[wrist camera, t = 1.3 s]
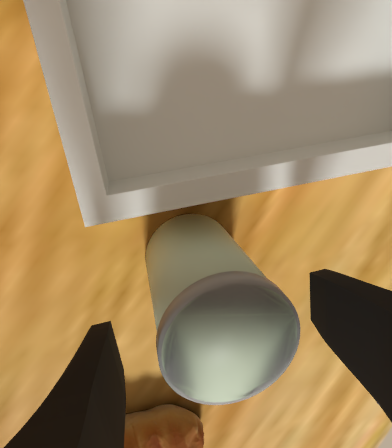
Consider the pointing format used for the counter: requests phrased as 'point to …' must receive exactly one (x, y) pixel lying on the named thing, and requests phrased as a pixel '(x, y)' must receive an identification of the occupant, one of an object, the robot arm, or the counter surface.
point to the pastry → (163, 428)
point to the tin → (216, 314)
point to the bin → (213, 96)
